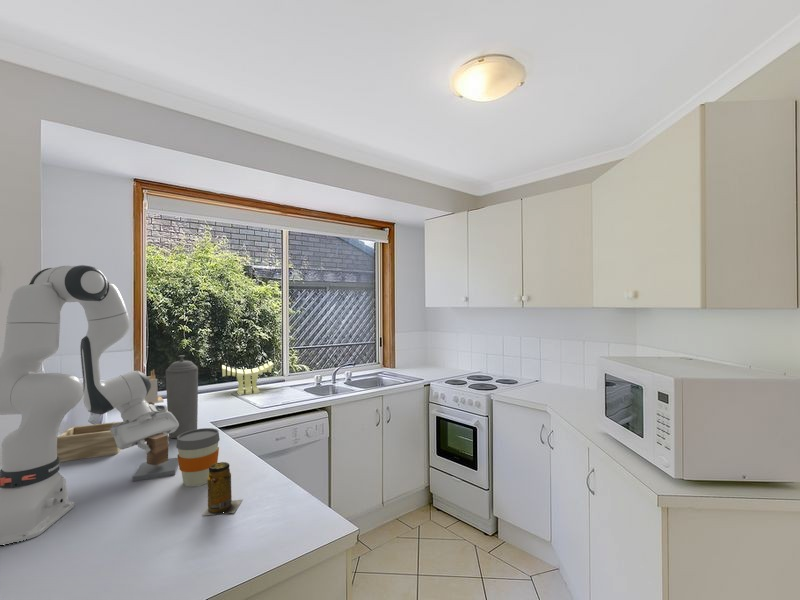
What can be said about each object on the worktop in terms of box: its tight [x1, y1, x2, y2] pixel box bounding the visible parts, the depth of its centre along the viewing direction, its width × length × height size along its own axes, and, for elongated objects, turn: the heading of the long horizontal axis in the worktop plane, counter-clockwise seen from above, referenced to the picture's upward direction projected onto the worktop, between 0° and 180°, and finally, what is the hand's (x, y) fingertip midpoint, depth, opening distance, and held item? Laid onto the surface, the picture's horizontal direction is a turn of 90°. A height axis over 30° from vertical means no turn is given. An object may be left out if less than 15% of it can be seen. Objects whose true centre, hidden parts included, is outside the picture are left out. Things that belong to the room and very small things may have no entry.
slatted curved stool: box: [221, 361, 274, 395], centre depth 251 cm, size 30×16×18 cm, turn 114°
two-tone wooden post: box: [145, 369, 164, 405], centre depth 191 cm, size 8×12×26 cm
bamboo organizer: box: [57, 420, 123, 463], centre depth 152 cm, size 13×18×9 cm
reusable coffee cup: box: [175, 427, 221, 487], centre depth 126 cm, size 12×13×15 cm
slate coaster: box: [132, 457, 179, 482], centre depth 134 cm, size 12×12×2 cm
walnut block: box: [146, 434, 169, 466], centre depth 134 cm, size 4×4×9 cm
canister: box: [165, 354, 199, 439], centre depth 170 cm, size 13×13×35 cm
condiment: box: [202, 461, 243, 516], centre depth 109 cm, size 7×8×12 cm
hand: (158, 448), depth 134 cm, fingers closed on walnut block, 4 cm apart
